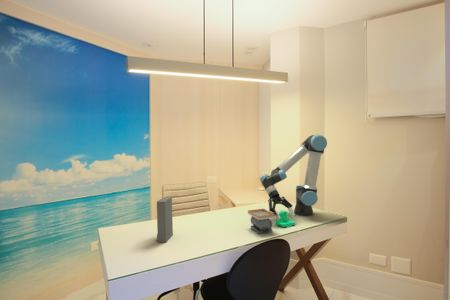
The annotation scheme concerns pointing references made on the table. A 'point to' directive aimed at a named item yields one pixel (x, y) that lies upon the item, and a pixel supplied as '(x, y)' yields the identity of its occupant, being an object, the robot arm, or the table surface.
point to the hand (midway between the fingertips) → (286, 217)
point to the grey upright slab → (164, 219)
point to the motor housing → (261, 220)
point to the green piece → (284, 220)
